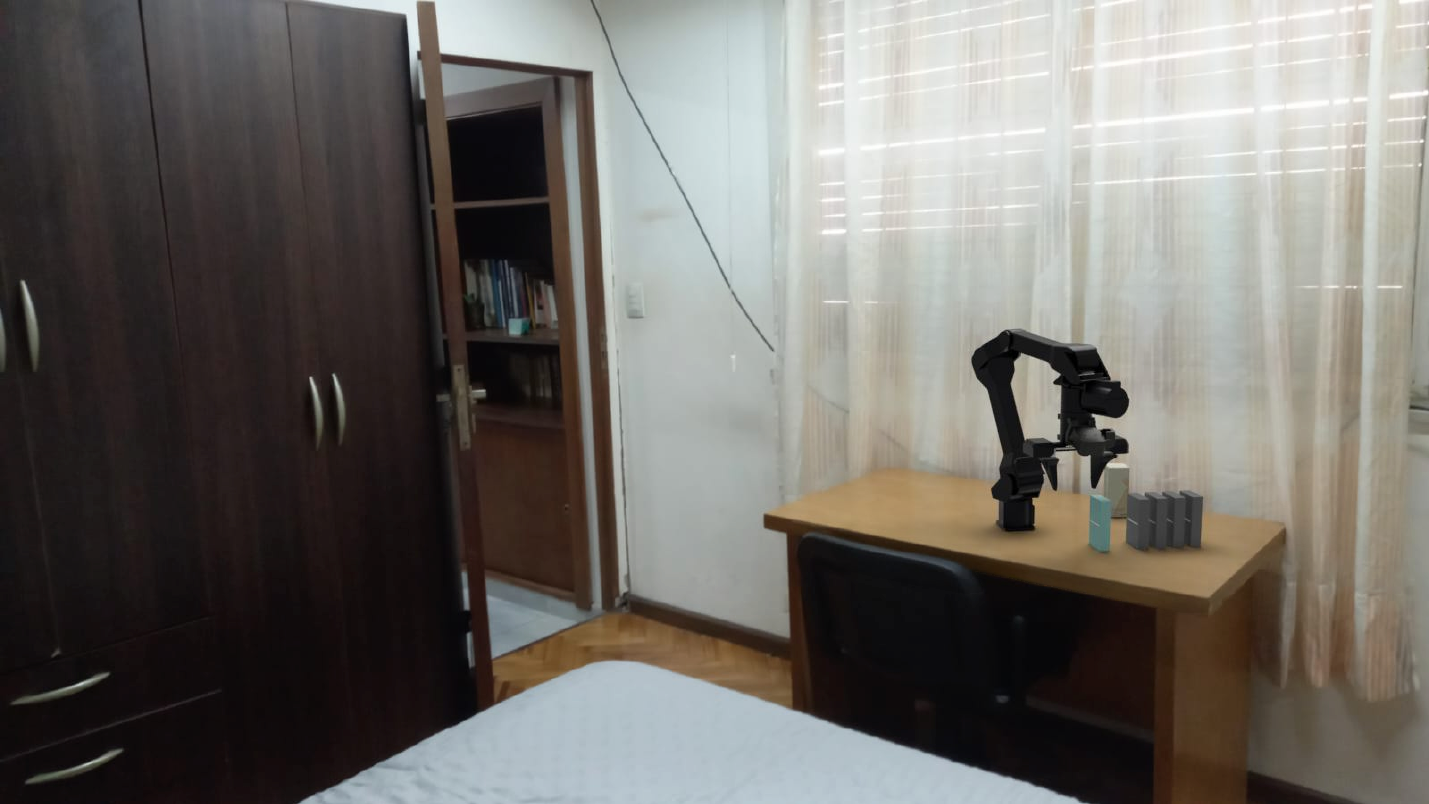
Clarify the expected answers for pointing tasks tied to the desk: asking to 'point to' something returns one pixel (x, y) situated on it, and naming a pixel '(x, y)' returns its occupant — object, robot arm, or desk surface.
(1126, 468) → the box
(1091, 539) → the head tile
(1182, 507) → the tile
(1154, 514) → the tile
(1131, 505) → the tile
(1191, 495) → the tile
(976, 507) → the desk surface
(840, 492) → the desk surface
